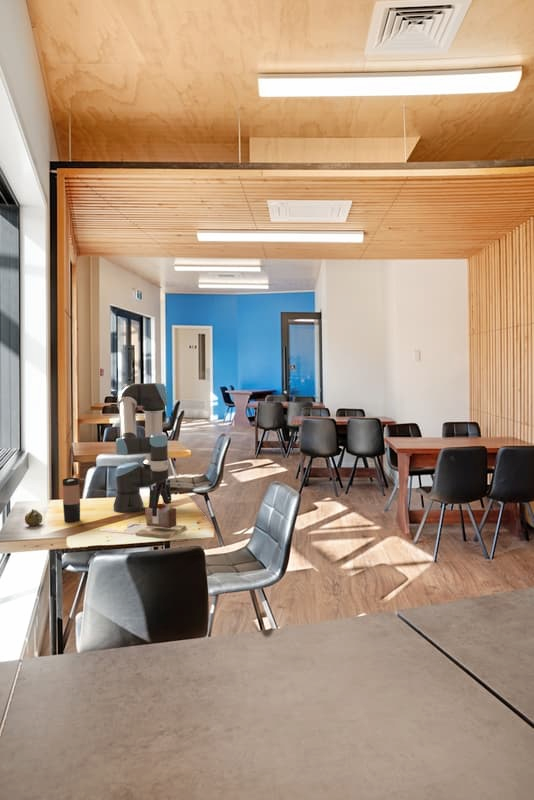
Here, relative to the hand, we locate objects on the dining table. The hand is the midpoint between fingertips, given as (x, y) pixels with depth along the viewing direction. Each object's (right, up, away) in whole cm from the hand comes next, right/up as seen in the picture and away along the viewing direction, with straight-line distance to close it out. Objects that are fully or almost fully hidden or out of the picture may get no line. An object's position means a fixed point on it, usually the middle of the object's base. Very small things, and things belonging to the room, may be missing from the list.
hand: (160, 520), depth 262 cm
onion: (-62, -5, +15) cm, 64 cm away
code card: (-17, -5, +8) cm, 20 cm away
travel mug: (-46, -5, +22) cm, 51 cm away
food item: (0, -2, 0) cm, 3 cm away
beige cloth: (0, -5, 0) cm, 5 cm away
